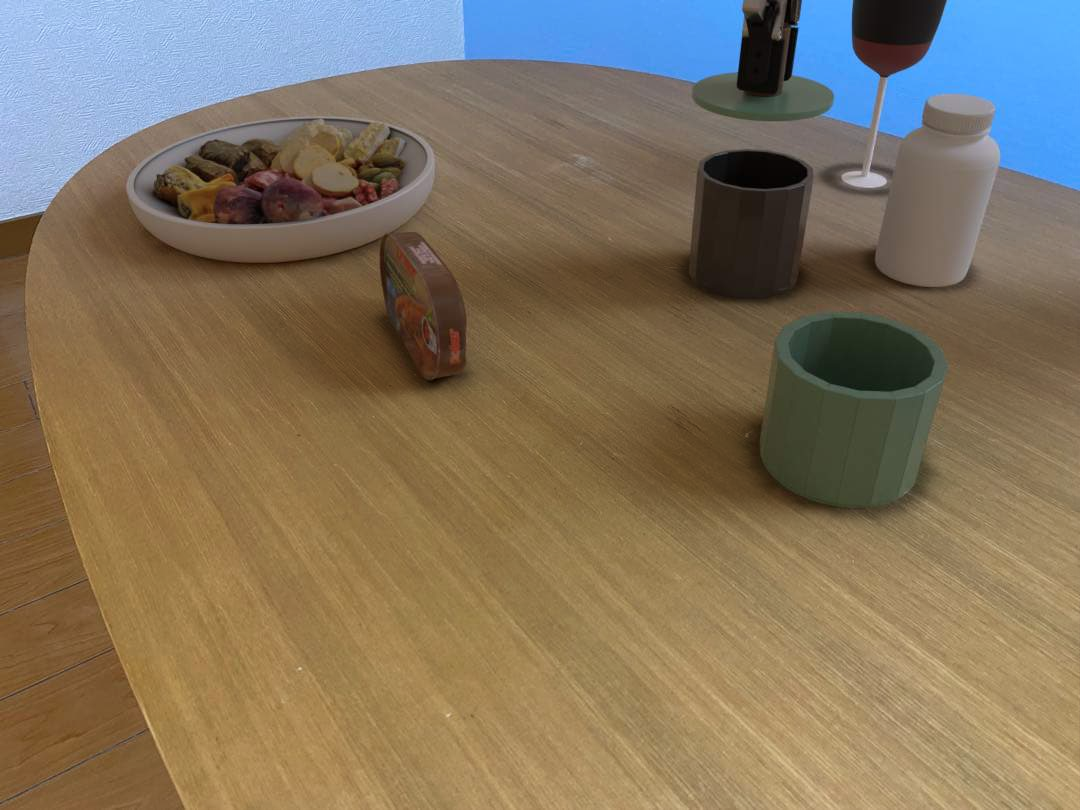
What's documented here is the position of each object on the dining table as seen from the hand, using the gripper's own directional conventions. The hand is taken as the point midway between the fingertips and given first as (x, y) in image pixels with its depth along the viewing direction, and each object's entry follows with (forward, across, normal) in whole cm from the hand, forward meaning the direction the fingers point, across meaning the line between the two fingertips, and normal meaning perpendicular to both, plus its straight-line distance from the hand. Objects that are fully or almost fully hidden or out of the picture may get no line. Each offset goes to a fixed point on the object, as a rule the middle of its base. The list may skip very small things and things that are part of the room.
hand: (764, 82), depth 74 cm
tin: (+17, -23, +19) cm, 34 cm away
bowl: (+18, -6, +46) cm, 49 cm away
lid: (+1, 0, 0) cm, 1 cm away
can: (+17, -23, -14) cm, 31 cm away
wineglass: (+17, +27, -5) cm, 33 cm away
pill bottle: (+17, +8, -14) cm, 24 cm away
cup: (+17, 0, 0) cm, 17 cm away
